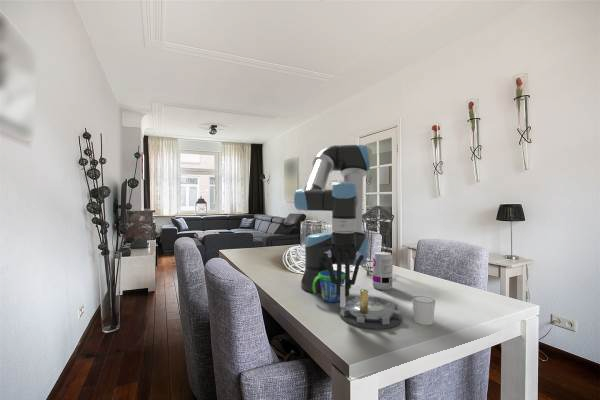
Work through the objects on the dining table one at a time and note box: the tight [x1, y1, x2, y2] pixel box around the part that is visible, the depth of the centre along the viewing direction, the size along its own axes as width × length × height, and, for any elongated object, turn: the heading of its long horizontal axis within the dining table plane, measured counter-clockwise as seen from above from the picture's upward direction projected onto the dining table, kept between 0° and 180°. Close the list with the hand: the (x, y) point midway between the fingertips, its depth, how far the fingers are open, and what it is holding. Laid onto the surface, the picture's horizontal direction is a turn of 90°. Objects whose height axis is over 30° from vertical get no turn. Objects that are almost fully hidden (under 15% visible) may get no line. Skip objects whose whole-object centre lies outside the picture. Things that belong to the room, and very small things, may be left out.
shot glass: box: [412, 295, 436, 326], centre depth 96 cm, size 7×7×7 cm
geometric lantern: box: [361, 205, 395, 276], centre depth 151 cm, size 16×16×35 cm
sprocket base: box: [338, 307, 403, 331], centre depth 99 cm, size 20×20×1 cm
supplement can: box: [372, 251, 394, 291], centre depth 130 cm, size 8×8×15 cm
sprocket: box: [340, 289, 402, 325], centre depth 99 cm, size 20×20×9 cm
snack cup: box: [312, 269, 352, 303], centre depth 114 cm, size 16×10×10 cm
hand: (342, 305), depth 95 cm, fingers closed
